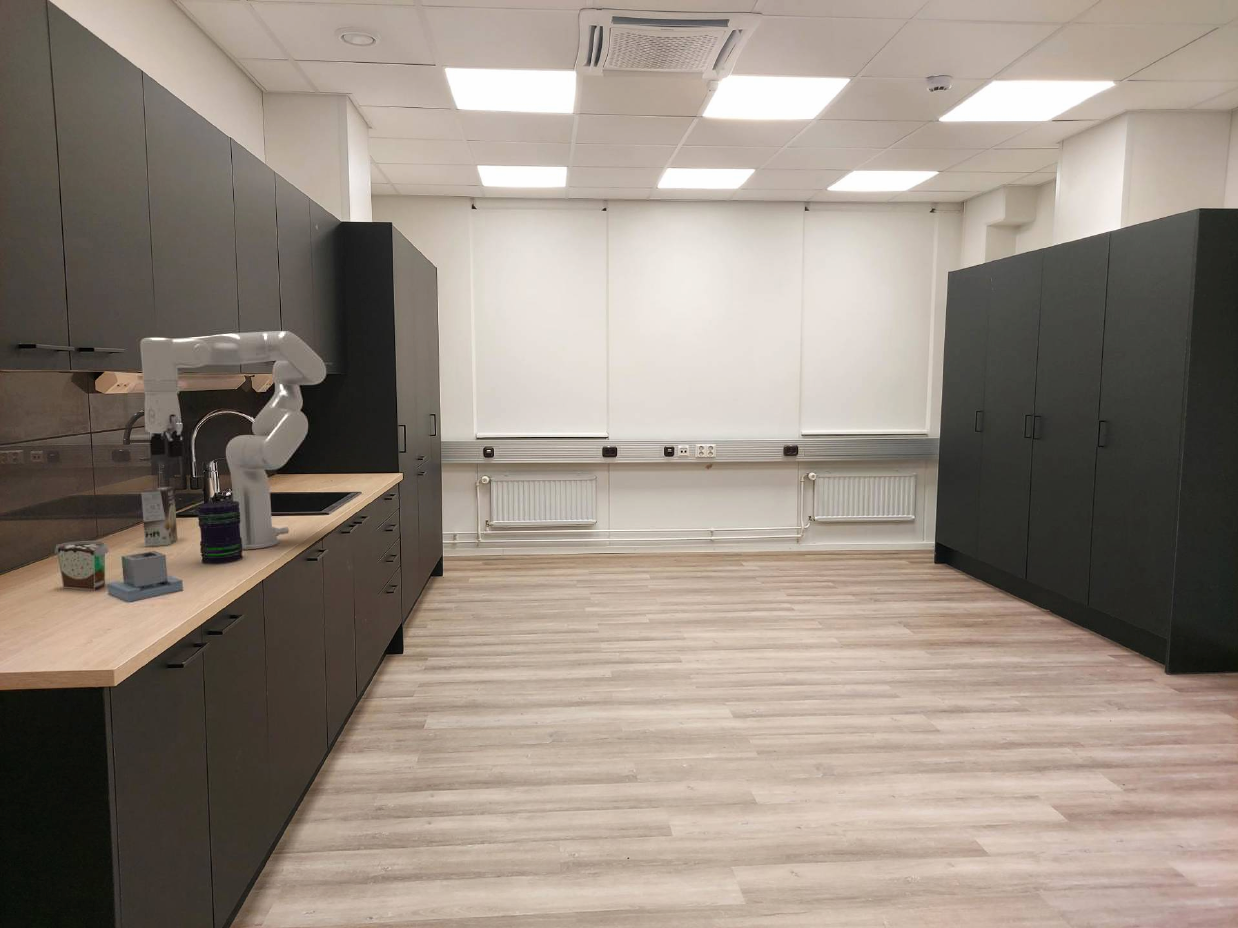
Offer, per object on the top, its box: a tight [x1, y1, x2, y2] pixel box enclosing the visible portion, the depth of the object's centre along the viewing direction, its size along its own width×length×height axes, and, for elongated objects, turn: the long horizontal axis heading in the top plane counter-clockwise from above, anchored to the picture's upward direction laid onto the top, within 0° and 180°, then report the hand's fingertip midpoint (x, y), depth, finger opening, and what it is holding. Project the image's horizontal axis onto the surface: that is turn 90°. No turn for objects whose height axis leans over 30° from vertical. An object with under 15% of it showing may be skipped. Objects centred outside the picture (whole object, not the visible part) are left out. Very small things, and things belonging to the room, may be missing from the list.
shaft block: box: [106, 574, 184, 603], centre depth 169 cm, size 11×11×8 cm
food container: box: [54, 540, 109, 591], centre depth 174 cm, size 12×6×10 cm, turn 74°
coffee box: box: [140, 486, 178, 547], centre depth 219 cm, size 9×6×16 cm
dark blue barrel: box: [197, 500, 244, 565], centre depth 198 cm, size 10×10×15 cm
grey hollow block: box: [121, 550, 168, 587], centre depth 169 cm, size 7×7×6 cm
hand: (166, 455), depth 190 cm, fingers open, 9 cm apart
